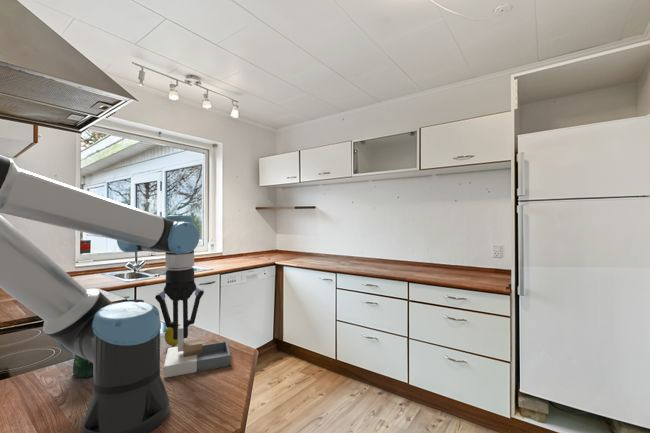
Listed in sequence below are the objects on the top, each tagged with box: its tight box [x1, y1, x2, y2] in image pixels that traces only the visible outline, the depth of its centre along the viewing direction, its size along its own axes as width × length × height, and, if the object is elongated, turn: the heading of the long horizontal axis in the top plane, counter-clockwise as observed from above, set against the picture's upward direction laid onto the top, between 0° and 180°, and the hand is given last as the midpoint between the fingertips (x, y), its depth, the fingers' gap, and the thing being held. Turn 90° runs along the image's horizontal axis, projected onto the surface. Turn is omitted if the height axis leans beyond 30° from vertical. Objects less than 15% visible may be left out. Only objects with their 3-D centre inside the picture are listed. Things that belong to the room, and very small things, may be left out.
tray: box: [196, 340, 231, 373], centre depth 90 cm, size 11×9×3 cm
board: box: [163, 345, 198, 379], centre depth 88 cm, size 13×8×3 cm, turn 23°
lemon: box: [164, 323, 182, 347], centre depth 100 cm, size 6×6×8 cm
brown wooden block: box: [183, 337, 203, 357], centre depth 89 cm, size 5×5×3 cm
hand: (180, 349), depth 88 cm, fingers closed
